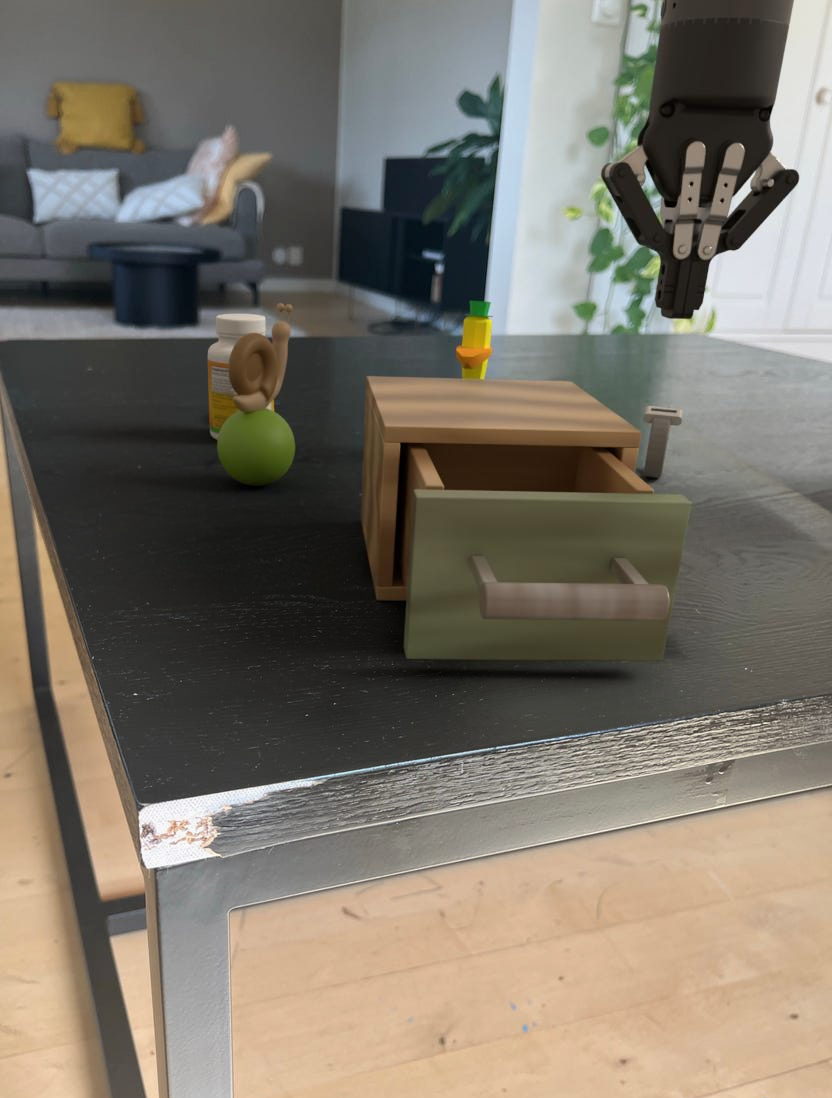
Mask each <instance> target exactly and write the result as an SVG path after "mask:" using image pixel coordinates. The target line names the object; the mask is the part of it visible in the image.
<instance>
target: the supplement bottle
mask: <svg viewBox="0 0 832 1098" xmlns="http://www.w3.org/2000/svg"><path fill="white" fill-rule="evenodd" d="M266 326H267V325H266V316H265V315H261V314H253V313H225V314H224V313H223V314H218V315H216V316H215V331H216V332H215V335H216V336H218V341H216V342H214V343H213V344H211V345H210V346H209V347H208V350H207V375H208V376H207V383H208V384H207V385H208V417H209V420H208V421H209V433H210V436H211V437H212V438H213V439H214V440H216V441H217V440H218V435H219V432H220V430H221V428H222V426H223V424H224V423H225V421H226V420H227V419H228V418H229V417H230V416H231V415H232V414H234V413H235V412H237V411H239V409H238V408H237V407H236V406H235V404H234V402H233V397H234V396H239V395H238V394H237V393H236V392H235V391H234V389H233V388H232V386H231V383H230V380H229V374H228V364H229V358H230V355H231V352H232V349H233V347H234V345H235V344H236V342H237V341H238V340H239V339H240V338H241V337H243V336H244V335H246V334H249V333H258V334H261V335H264V336H265V337H266V332H267V327H266ZM266 408H267V409H270V410H272V411H274V412H275V399H274V400H273V401H272V402H271V403H270V404H269V405H268V406H267V407H266Z"/></svg>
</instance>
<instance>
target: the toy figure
mask: <svg viewBox="0 0 832 1098" xmlns="http://www.w3.org/2000/svg"><path fill="white" fill-rule="evenodd" d="M490 306H491V301H484V300H483V301H481V300H469V311H470V312H469V313H465V314H464V316H467V317H465V318H464V319H463V328H462V342H461V345H459V344H458V346H456V347H455V348H456V349H455V355H456V359H457V360H458V362H459V364H460V365H461V376H462V378H461V379H486V378H485V377H486V371H487V369H488V363H489V359H490V357H491V356H492V352H493V347H491V341H492V329H493V321H492V320H491V319H490V318H493V317H494V316H493V315H488V314H489V311H490V308H491V307H490Z"/></svg>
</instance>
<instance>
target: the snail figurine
mask: <svg viewBox="0 0 832 1098" xmlns="http://www.w3.org/2000/svg"><path fill="white" fill-rule="evenodd" d="M276 310H277V311H278V312H279V313H280V315H279V320H278V321H276V322H275V323H274V324H273V325H272V328H271V337H272V341H270V339H269V337H267V336H266V335H265V336H264V335H261V334H258V333H249V334H246V335H244V336H243V337H241V338H240V339H239V340H238V341H237V342H236V344H235V345H234V347H233V349H232V352H231V355H230V358H229V364H228V374H229V380H230V383H231V386H232V388H233V389H234V391H235V392H236V393H237V394H238V395H239V396H234V397H233V402H234V404H235V406H236V407H237V408H238V409H239V411H237V412H235V413H234V414H232V415H231V416H230V417H229V418H228V419H227V420H226V421H225V423H224V424H223V426H222V428H221V430H220V432H219V435H218V440H216V450H217V456H218V459H219V462H220V464H221V466H222V468H223V469H224V470H225V471H226V473H227V474H228V475H229V477H231V478H233V479H234V480H235V481H237V482H239V483H241V484H243V485H246V486H253V487H262V486H266V485H270V484H272V483H275V482H276V481H279V480H280V479H281V478H282V477H284V475H285V474H286V473H287V472H288V470H289V469H290V467H291V466H292V463H293V461H294V458H295V452H296V440H295V436H294V432H293V430H292V429H291V427H290V425H289V424H288V422H287V421H286V419H284V418H283V417H282V415H280V414H279V413H277V412H275V410H274V411H272V410H270V409H267V408H266V407H267V406H268V405H269V404H270V403H271V402H272V401H273V400H274V401H275V399H276V398H277V396H278V395H279V393H280V391H281V388H282V385H283V382H284V379H285V374H286V368H287V364H288V363H287V362H288V353H289V340H290V338H291V327H290V315H291V314H290V313H291V312H292V311H293V306H292V304H290V303H287V304H283V302H279V303H277V305H276ZM284 311H285V312H286V313H287V314H288V315H287V322H286V321H284V320H282V319H283V318H282V316H283V315H282V312H284Z"/></svg>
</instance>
